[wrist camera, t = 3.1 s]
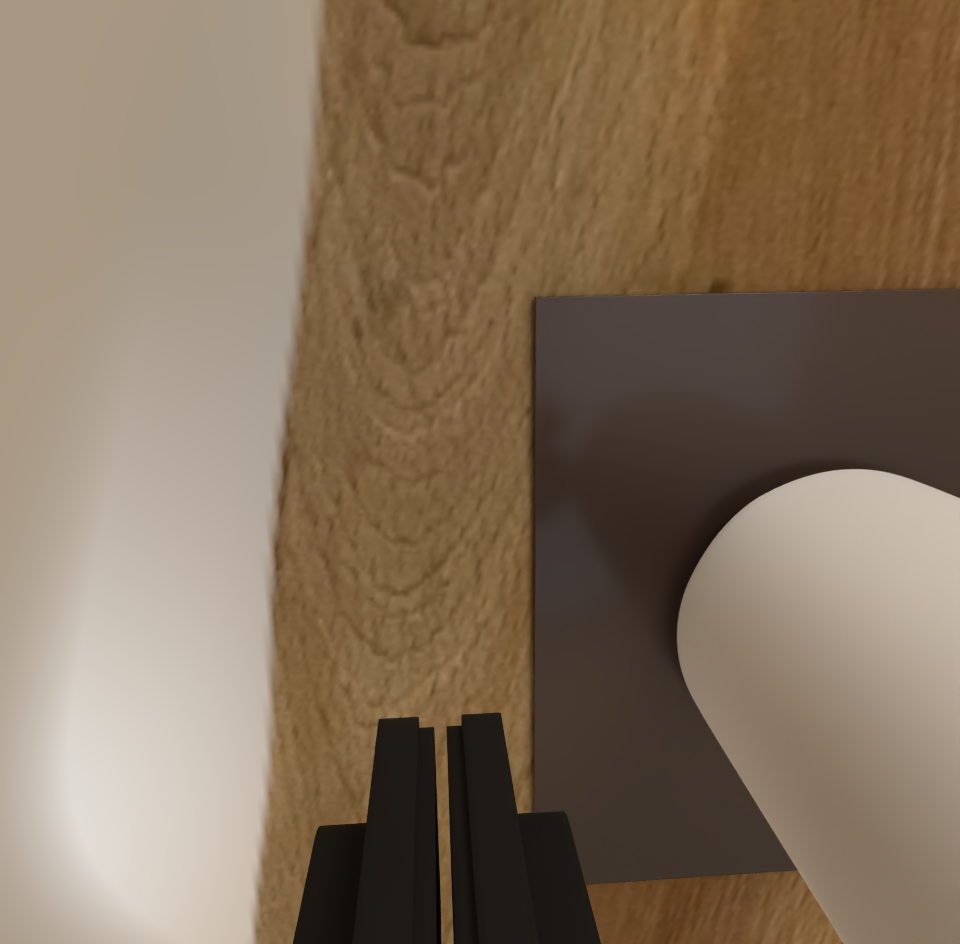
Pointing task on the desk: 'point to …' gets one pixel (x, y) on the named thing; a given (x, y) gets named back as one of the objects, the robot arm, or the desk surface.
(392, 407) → the desk surface
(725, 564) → the can
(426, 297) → the desk surface
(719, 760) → the runner
